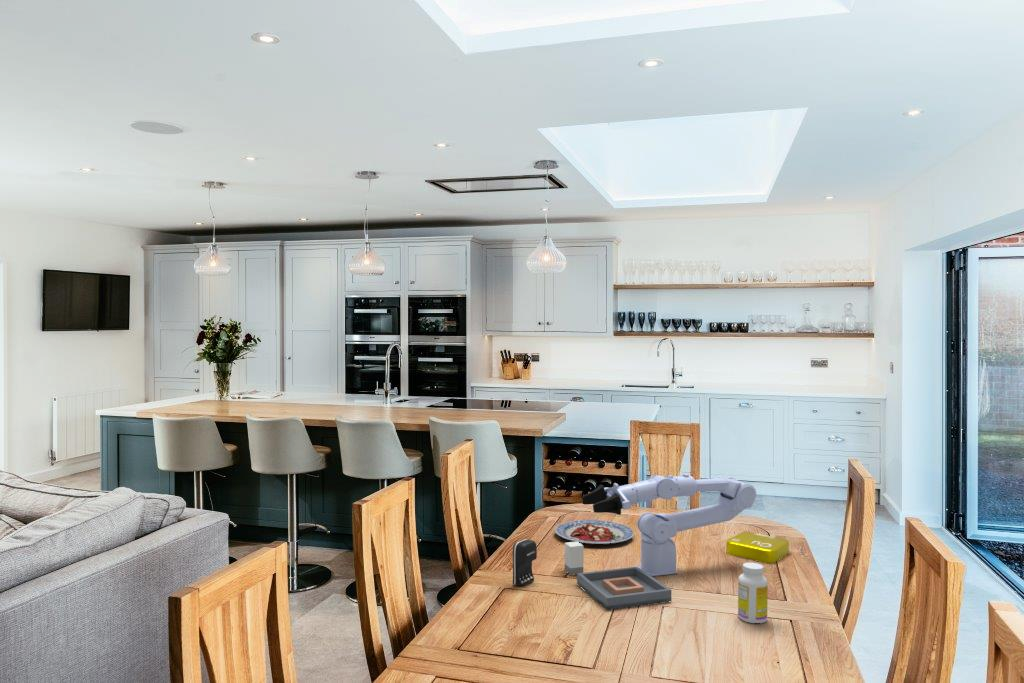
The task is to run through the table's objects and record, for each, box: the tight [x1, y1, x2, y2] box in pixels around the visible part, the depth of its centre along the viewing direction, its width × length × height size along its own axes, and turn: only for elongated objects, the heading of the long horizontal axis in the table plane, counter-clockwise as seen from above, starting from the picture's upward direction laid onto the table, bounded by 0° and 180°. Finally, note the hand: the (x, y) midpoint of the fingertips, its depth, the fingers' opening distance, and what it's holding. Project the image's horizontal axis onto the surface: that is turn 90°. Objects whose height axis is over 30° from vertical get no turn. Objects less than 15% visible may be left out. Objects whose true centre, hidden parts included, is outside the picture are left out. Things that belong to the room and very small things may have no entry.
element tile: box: [726, 530, 790, 564], centre depth 220 cm, size 15×15×5 cm
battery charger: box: [512, 538, 538, 587], centre depth 193 cm, size 7×4×11 cm, turn 143°
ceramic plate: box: [554, 519, 635, 545], centre depth 235 cm, size 26×26×3 cm
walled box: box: [576, 566, 672, 611], centre depth 186 cm, size 18×18×3 cm
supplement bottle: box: [737, 562, 769, 624], centre depth 171 cm, size 7×7×13 cm
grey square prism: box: [564, 541, 585, 576], centre depth 202 cm, size 4×4×8 cm
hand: (588, 504), depth 197 cm, fingers open, 7 cm apart
